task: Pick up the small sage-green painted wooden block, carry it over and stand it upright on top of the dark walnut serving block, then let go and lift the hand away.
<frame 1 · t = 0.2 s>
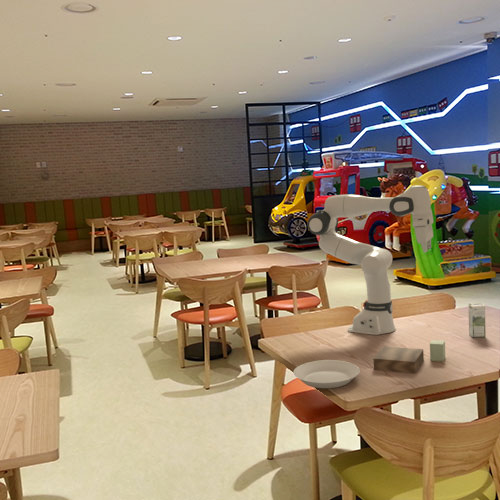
hand: (427, 250, 263), 39 cm above the table, tool pointing down, fingers open, 8 cm apart
walnut block: (399, 365, 229), on the table
white plate: (326, 380, 219), on the table
sage block: (437, 359, 232), on the table
syrup box: (477, 336, 259), on the table
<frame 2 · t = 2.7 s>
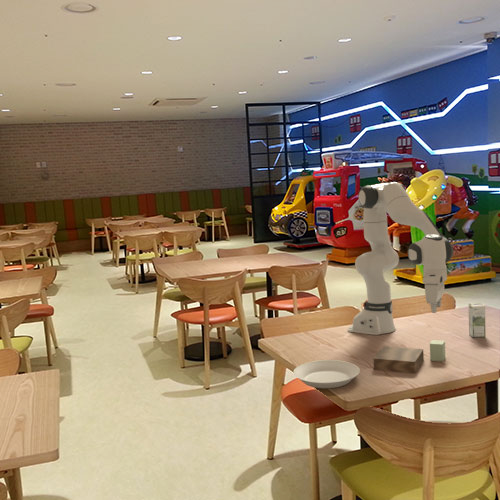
hand: (436, 309, 230), 20 cm above the table, tool pointing down, fingers open, 8 cm apart
nothing on the table moved.
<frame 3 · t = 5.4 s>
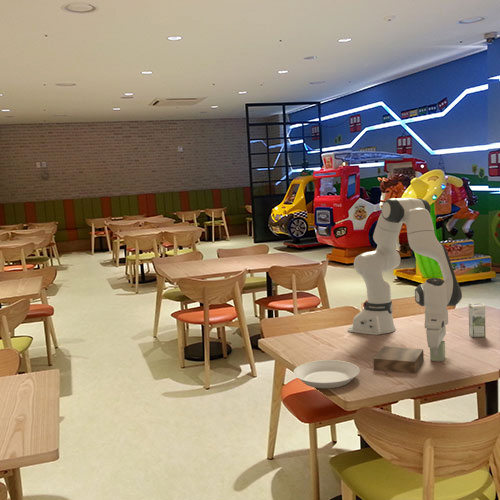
hand: (437, 352, 232), 3 cm above the table, tool pointing down, fingers closed on sage block, 5 cm apart
sage block: (437, 358, 232), on the table, touching gripper
everything else where it was.
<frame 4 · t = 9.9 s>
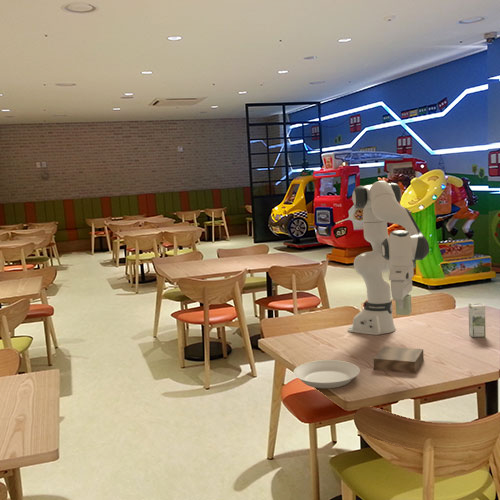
hand: (403, 306, 226), 23 cm above the table, tool pointing down, fingers closed on sage block, 5 cm apart
sage block: (403, 313, 227), point 21 cm above the table, touching gripper
everything else where it was.
when the fingers open (9 cm above the table, at t = 14.4 s): sage block drops 2 cm, resting on walnut block.
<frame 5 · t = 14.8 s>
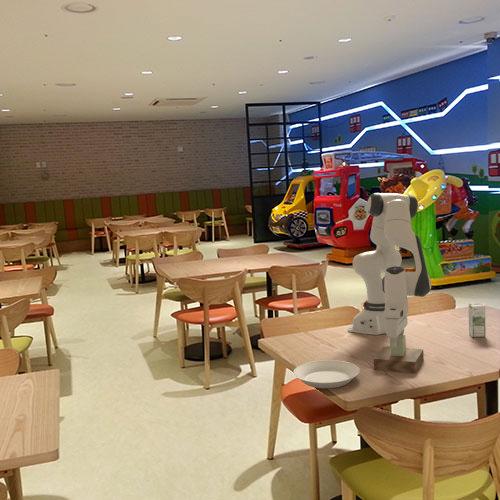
hand: (398, 342, 228), 9 cm above the table, tool pointing down, fingers open, 8 cm apart
walnut block: (399, 366, 229), on the table, touching sage block
sage block: (398, 353, 228), point 4 cm above the table, touching walnut block
everything else where it was.
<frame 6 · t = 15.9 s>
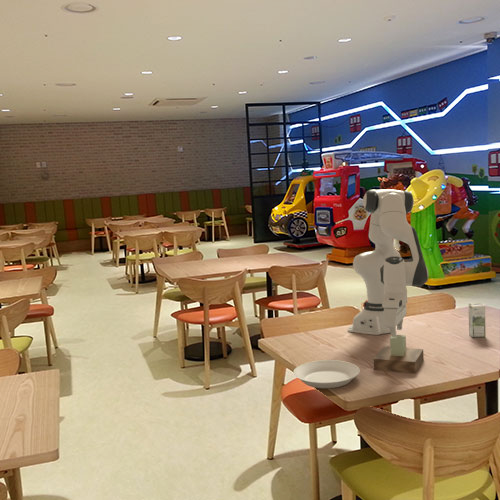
hand: (396, 332, 228), 13 cm above the table, tool pointing down, fingers open, 8 cm apart
nothing on the table moved.
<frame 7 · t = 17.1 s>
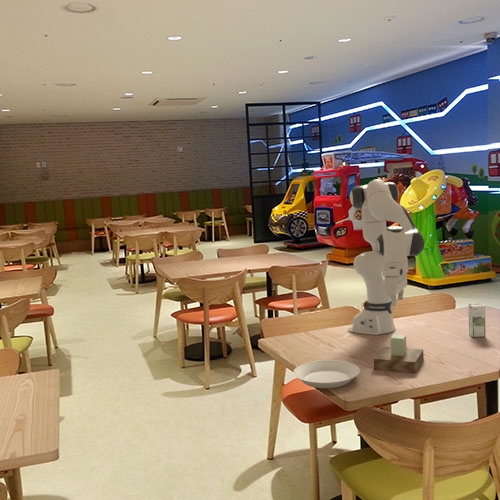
hand: (397, 302, 227), 25 cm above the table, tool pointing down, fingers open, 8 cm apart
walnut block: (399, 366, 229), on the table
sage block: (399, 353, 228), point 5 cm above the table
everything else where it was.
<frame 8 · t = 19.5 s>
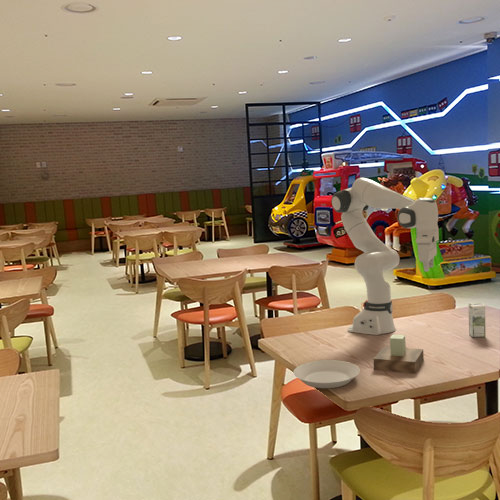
hand: (428, 269, 243), 34 cm above the table, tool pointing down, fingers open, 8 cm apart
walnut block: (399, 366, 229), on the table, touching sage block
sage block: (398, 353, 228), point 5 cm above the table, touching walnut block
everything else where it was.
at the end: sage block inside the target area on the walnut block (0.1 cm from its centre), point 5.0 cm above the walnut block's base; sage block tilted 0°; the gripper is holding nothing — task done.
